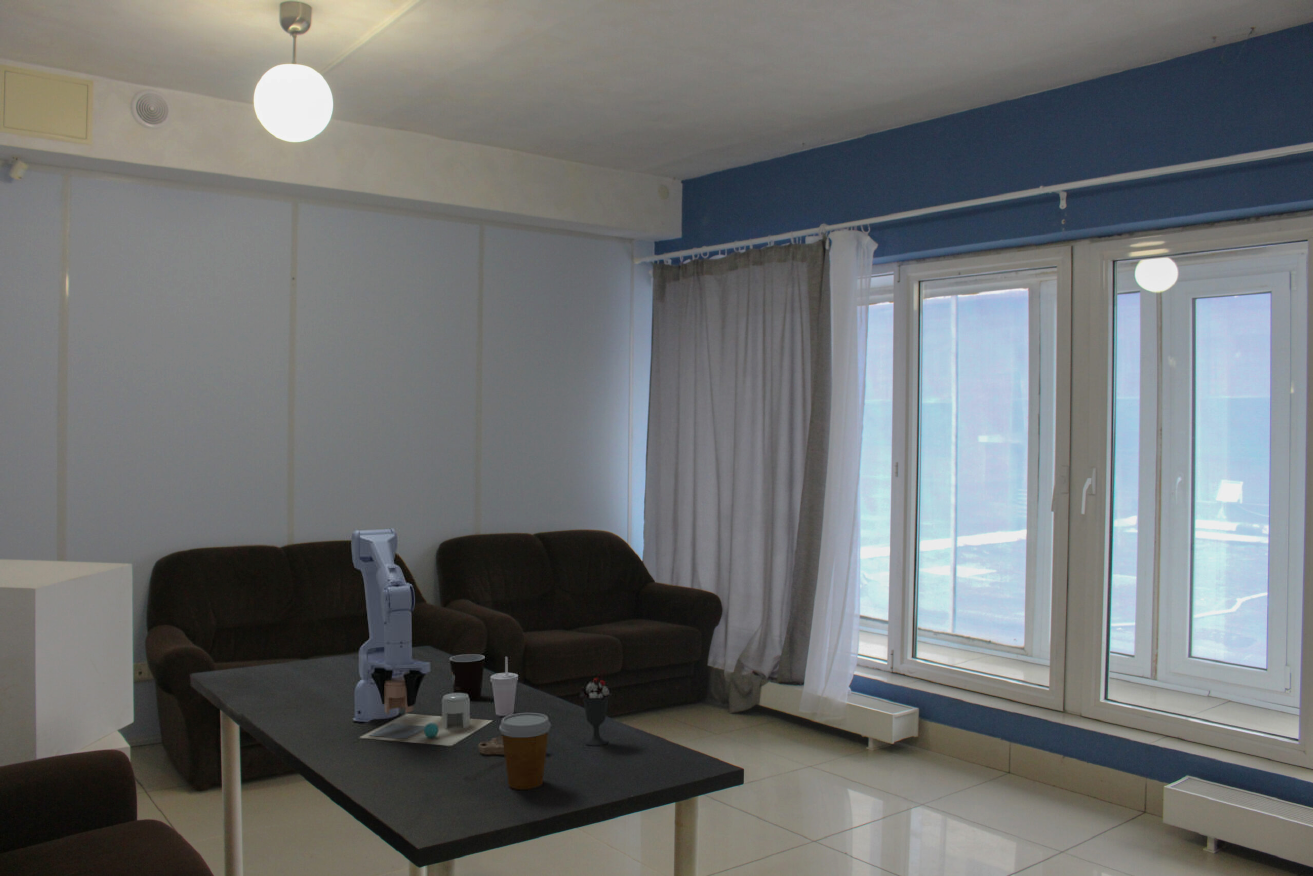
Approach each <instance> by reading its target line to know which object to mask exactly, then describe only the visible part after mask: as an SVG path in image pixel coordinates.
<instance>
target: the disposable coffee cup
mask: <svg viewBox="0 0 1313 876" xmlns="http://www.w3.org/2000/svg"><path fill="white" fill-rule="evenodd" d="M551 727H552V725H551V722H550V721H549V717H548V716H547V715H546V714H544V713H537V712H520V713H519V712H518V713H513V714H512V715H508V716H503V718H502V719H501V722H500V725H499V727H498V728H499V731H500V733H501V736H502V738H503V746H504V753H505V755H504V759H505V760H504V761H505V767H506V775H507V782H508V783H507V784H508V786H509V787H510V788H513V789H514V790H515V789H516V790H530V789H531V790H532V789H534V788H535V789H536V788H538V787H541V785H543V784H544V783H543V782H544V781H543V780H544V774H545V773H544V772H545V763H546V755H547V745H548V737H549V736H548V735H549V732H550V728H551Z"/></svg>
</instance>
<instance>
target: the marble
mask: <svg viewBox="0 0 1313 876" xmlns="http://www.w3.org/2000/svg"><path fill="white" fill-rule="evenodd" d="M437 733H438V727H437V725H436V724H434V723H429V724H427V725H426V726H425V728H424V734H425V735H426V736H427V737H429V738H433V737H435V736H436V735H437Z"/></svg>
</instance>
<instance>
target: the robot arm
mask: <svg viewBox="0 0 1313 876" xmlns="http://www.w3.org/2000/svg"><path fill="white" fill-rule="evenodd" d="M350 540H351V541H350V542H351V544H350V546H351V547H350V549H351V557H352V563H353V567H354V568H355V569H357V570H359V571H360V572H361V575H362V578H363V579H362V580H363V584H364V586H363V587H364V593H365V594H364V595H365V605H366V606H365V607H366V613H367V615H366V617H367V623H368V633H369V636H368V637H369V638H368V640H366V641H365V642H364V643H363V644H362V645H361V646H360V647H359V650H358V673H359V677H360V680H359V681H358V683H356V686H355V689H354V718H352V721H353V722H361V723H362V722H363V723H368V722H370V721H372V720H385V719H390V718H394V717H397V716H398V715H399V714H400V708H394V709H390V710H389V713H388V714H387V713H386V712H385V711H384V683H385V681H386V680H387V679H390V678H396V677H404V680H405V684H406V690H407V705H408V706H412V705H413V706H414V705H415V704H416V700H417V697H418V692H419V690H420V687H421V684H422V682H423V680H424V679H425V677H426V674H428V673H429V672H431V662H426V661H421V660H415V659H413V658H412V657H413V654H412V653H413V650H412V649H413V646H412V645H413V644H412V643H413V641H412V639H413V636H412V634H413V633H412V631H413V630H412V624H413V623H412V622H413V621H412V612H413V611H414V609H415V606H416V605H415V604H416V596H415V589H414V587H413V585H412V584H411V583H409V582H407V581H406V579H405V576H404V573H403V570H402V568H401V567H400V565H397V564H396V563H395V561H394V560H395V556H396V553H397V549H398V535H397V532H396V530H395V529H394V528H392V527H390V528H385V529H367V530H366V529H364V530H358V529H356V530H354V531H353V532H352V533H351V539H350ZM407 672H408V673H407ZM405 673H406V674H405Z"/></svg>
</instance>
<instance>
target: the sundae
mask: <svg viewBox="0 0 1313 876" xmlns="http://www.w3.org/2000/svg"><path fill="white" fill-rule="evenodd" d="M604 672H606V670H605V669H602V670H601V672H600V674H599V675H598V676H597V677H595V678H593V680H592V681H589V683H588V684H587V685H586V688H584V686H582V687H581V691H582V692H581V693H580V694H579V698H580V699H582V700H583V704H584V712H585V718H586V721H587V722H588V723H589V724H590V725H591V726H592V727H593V728H592V729H593V734H592V736H591V738H589V739H588V738H587V739H586V740H584V744H585V745H587V746H590V747H600V746H604V745H607V744H608V743H609V740H608V739H606V738H603V737H601V735H600V726H601V725H603V723H604V722H605V721H606V718H607V711H608V704H609V703H608V702H609V698H610V697H611V696H612V693H610V691H609V688H608V687H607V686H606V681H605V680H604V678H603V677H604V676H603V674H604ZM599 677H601V680H600V679H599Z"/></svg>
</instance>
